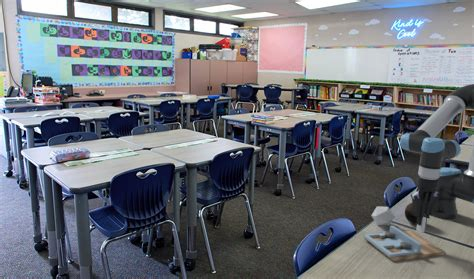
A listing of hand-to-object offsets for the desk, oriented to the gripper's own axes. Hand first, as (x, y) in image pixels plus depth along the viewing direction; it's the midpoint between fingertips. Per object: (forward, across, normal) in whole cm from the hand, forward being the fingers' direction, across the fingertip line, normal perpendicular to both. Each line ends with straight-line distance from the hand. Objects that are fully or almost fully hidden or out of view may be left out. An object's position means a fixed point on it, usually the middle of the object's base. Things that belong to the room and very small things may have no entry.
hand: (420, 231), depth 147 cm
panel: (+4, +14, +1) cm, 15 cm away
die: (+5, +3, -19) cm, 20 cm away
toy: (+6, -13, -16) cm, 22 cm away
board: (+5, +8, +1) cm, 10 cm away
